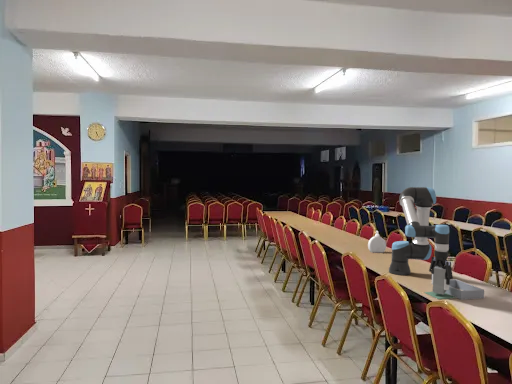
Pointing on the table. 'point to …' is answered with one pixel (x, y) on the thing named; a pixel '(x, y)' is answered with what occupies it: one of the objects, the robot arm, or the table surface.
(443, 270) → the skincare box
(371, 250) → the soap bottle
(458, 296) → the parts bin
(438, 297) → the pad
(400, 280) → the table surface
